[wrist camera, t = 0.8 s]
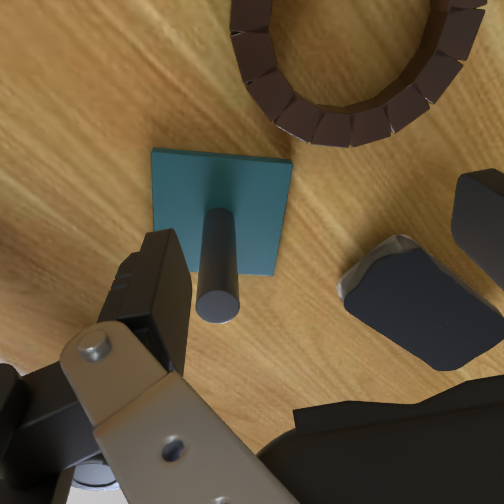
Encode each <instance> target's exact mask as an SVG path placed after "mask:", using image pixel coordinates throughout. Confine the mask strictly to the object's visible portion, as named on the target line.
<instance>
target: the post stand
mask: <svg viewBox="0 0 504 504" xmlns="http://www.w3.org/2000/svg"><path fill="white" fill-rule="evenodd" d="M292 169H293V163H292V161H291V160H288V159H277V158H266V157H254V156H243V155H232V154H220V153H209V152H198V151H186V150H175V149H164V148H153V149H152V151H151V172H152V199H153V226H154V231H159V230H164V229H170V228H173V229H174V230H175V232H176V234H177V236H178V239H179V242H180V245H181V248H182V251H183V254H184V257H185V260H186V263H187V266H188V269H189V272H199V274H198V285H197V296H196V311H197V313H198V315H199V316H200V317H201V318H202V319H203V320H205V321H207V322H210V323H225V322H228V321H230V320H232V319H233V318H234V317H235V316H236V315H237V314H238V312H239V309H240V302H239V285H238V274H246V275H266V276H273V275H274V270H275V264H276V259H277V253H278V248H279V242H280V236H281V231H282V225H283V219H284V214H285V208H286V202H287V197H288V191H289V186H290V180H291V174H292Z"/></svg>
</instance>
